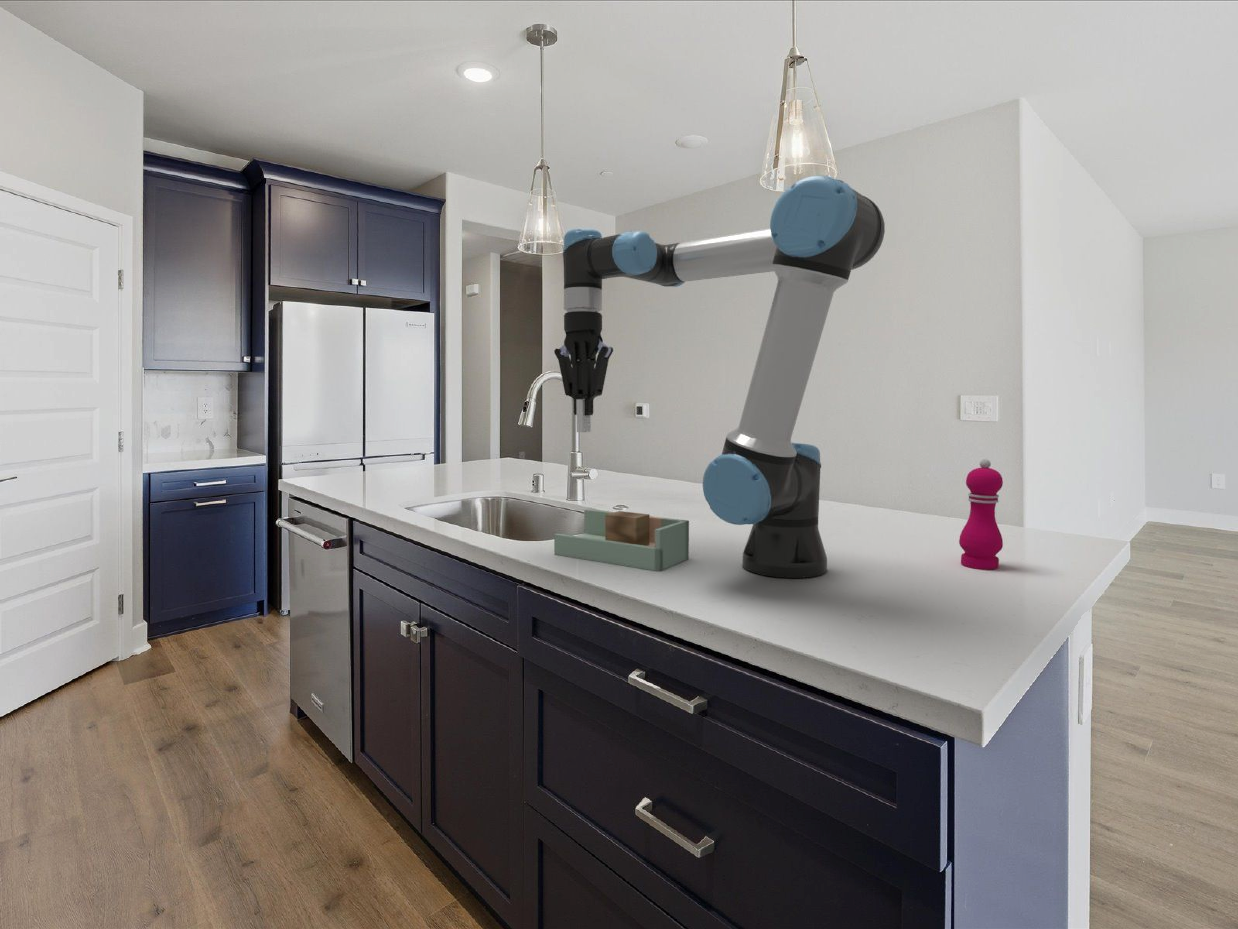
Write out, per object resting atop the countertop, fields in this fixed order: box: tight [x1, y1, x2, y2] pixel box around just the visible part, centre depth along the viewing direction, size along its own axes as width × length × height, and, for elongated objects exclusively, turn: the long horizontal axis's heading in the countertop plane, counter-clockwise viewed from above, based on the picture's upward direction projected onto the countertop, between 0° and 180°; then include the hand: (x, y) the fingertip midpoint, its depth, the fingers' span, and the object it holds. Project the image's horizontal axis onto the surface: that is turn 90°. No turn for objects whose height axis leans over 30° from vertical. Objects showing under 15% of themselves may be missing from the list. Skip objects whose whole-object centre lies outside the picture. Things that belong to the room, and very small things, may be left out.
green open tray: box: [553, 508, 690, 572], centre depth 134 cm, size 24×12×8 cm, turn 57°
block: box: [605, 510, 650, 546], centre depth 133 cm, size 7×5×6 cm
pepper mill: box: [958, 458, 1004, 571], centre depth 127 cm, size 7×7×20 cm
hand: (583, 431), depth 137 cm, fingers closed
